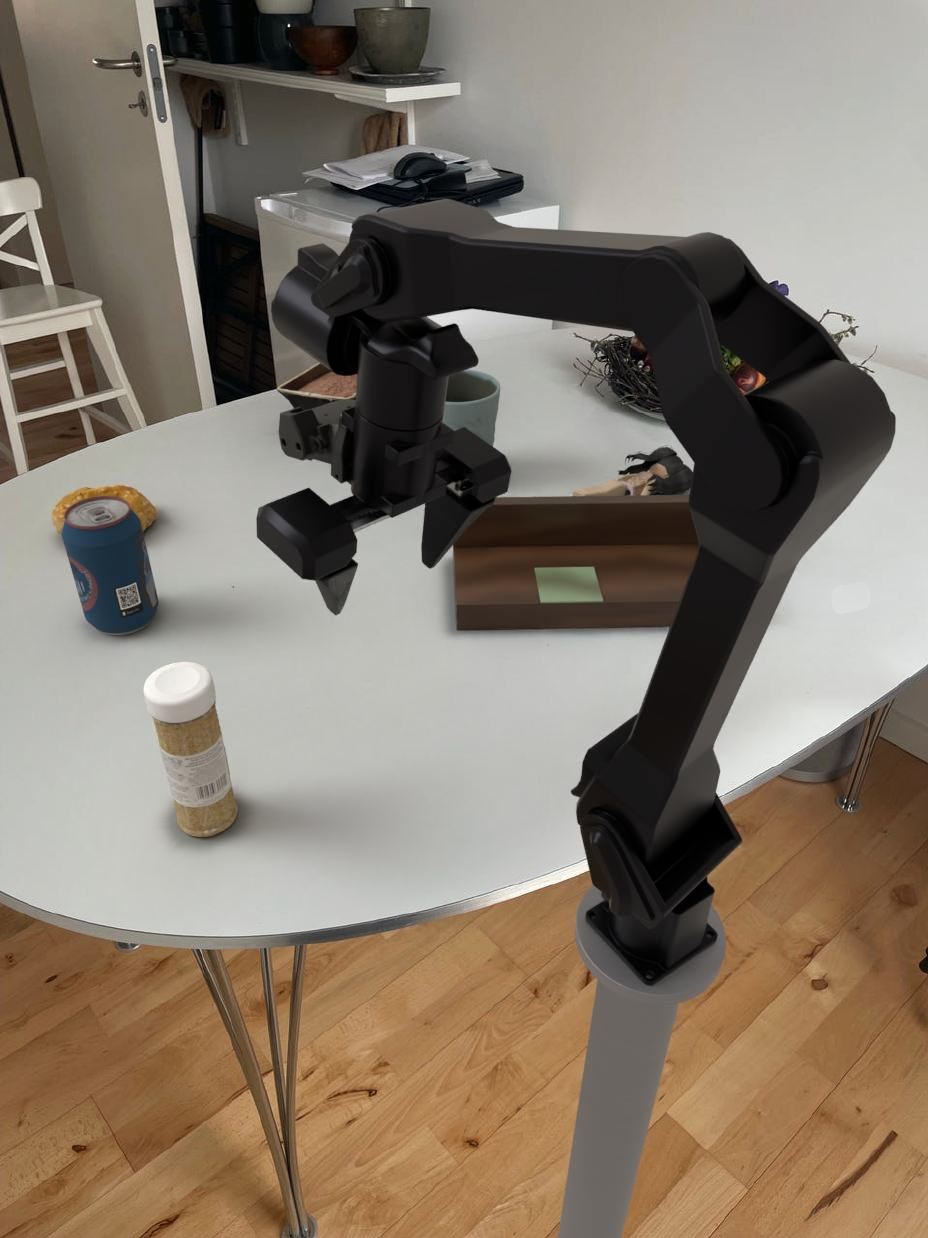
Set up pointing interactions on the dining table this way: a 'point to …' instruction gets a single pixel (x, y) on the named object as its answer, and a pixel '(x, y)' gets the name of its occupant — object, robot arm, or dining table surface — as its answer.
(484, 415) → the teal cup
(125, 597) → the soda can
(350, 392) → the baking dish
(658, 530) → the shelf
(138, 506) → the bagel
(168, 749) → the sprinkles bottle
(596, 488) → the toy figure
